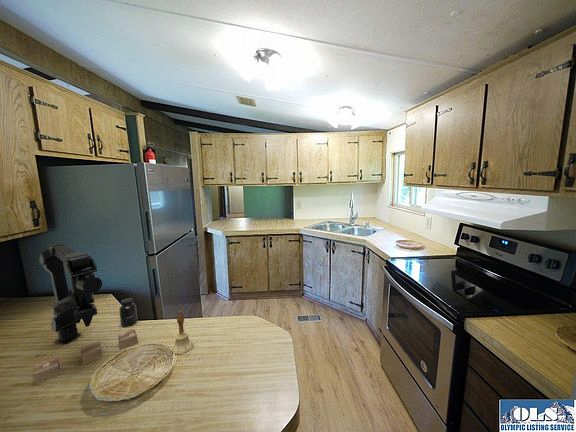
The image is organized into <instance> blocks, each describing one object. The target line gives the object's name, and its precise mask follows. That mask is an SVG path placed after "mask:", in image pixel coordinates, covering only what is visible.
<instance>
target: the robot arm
mask: <svg viewBox="0 0 576 432" xmlns="http://www.w3.org/2000/svg"><path fill="white" fill-rule="evenodd" d="M39 263H40V265H41V266H42V268H43V269H44V270H45V271H46V272H47V273H49V276H50V279H51V284H52V290H53V294H54V298H55V302H54V303H53V305H52V310H53V312H52V315H53V318H52V320H51V322H50V323H51V324H50V326H51V330H52V331H54V332H55V333H57V338H58V339H56V340H55V341H54V343H55V344H64V345H66V344H69V343H70V342H72V341H74V340H76V339H77V338H79V337H80V336H82V333H81V332H80V333H78V327H77V324H80V323H81V320H82V322H83V324H84V326H85V327H86V328H89V327H90V326H91V323H92V321H93V318H94V316H96V315H98V309H97V308H98V307H97V305H95V298H94V294H95V293H97V292H99V291H100V289H102V286H103V281H102V280H101V278H100V277H97V276H95V275H96V274H94V273H95V272H98V269H97V267H98V266H97V264H96V262H95V260H94V258H92V256H91V255H90V254H88V253H87V252H76V251H75V250H73V249H72V248H70V247H69V246H68V244H67V243H64V242H63V243H56V244H52V245H50V246H49V247H48V249H46V250H44V251H42V252H41V253H40V255H39ZM66 274H67V276H68V278H69V279H70V284H71V293H70V292H69V287H68V281H67V278H66ZM70 294H71V295H70Z"/></svg>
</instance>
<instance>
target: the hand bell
mask: <svg viewBox="0 0 576 432" xmlns="http://www.w3.org/2000/svg"><path fill="white" fill-rule="evenodd" d="M176 321H177V324H178V330H179V331H178V334H177V335H176V336H175V342H174V345H173V346H172V348H171V352H172V351H173V352H174V355H183V354H186V353H188V352H190V351H191V350H192V349H193V348H194V342H193V341H192V340H190V338H189V335H188V333H187V332H185V330H184V329H185V328H184V323H185V322H184V321H185V316H184V313H183V311H182V310H181V309H180V310H178V311H177V315H176Z"/></svg>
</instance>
